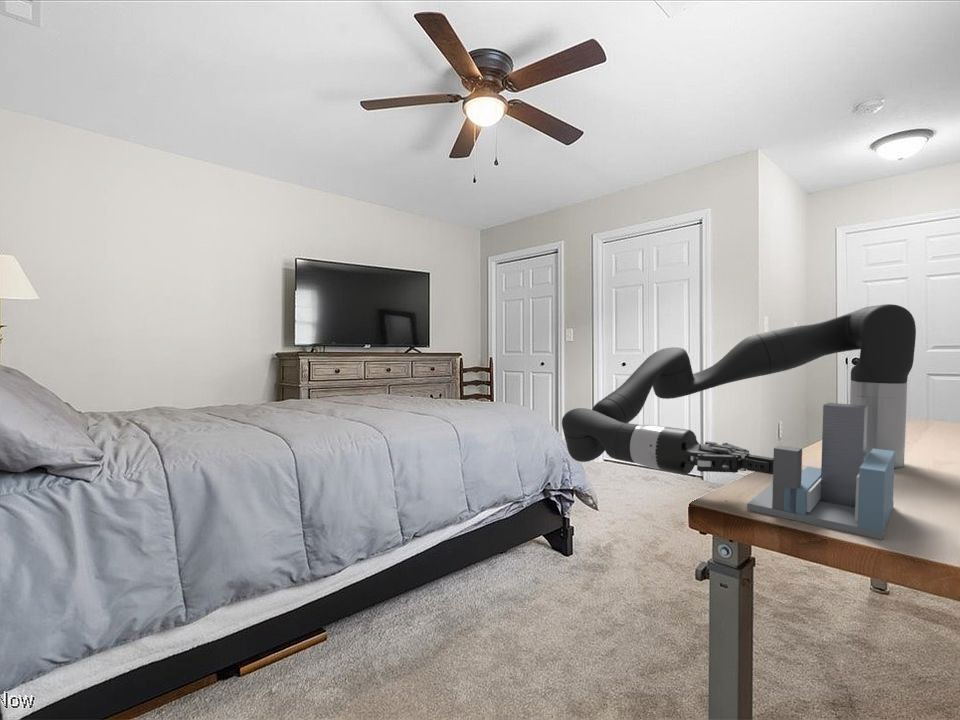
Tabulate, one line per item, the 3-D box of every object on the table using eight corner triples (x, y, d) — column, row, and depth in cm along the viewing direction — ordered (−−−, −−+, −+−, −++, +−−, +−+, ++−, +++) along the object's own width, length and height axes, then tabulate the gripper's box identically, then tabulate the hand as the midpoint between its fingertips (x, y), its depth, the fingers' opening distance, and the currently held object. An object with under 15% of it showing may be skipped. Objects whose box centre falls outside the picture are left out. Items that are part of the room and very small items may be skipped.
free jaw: (796, 484, 83) (798, 433, 83) (828, 490, 80) (830, 436, 80) (772, 508, 72) (773, 448, 71) (808, 515, 69) (810, 453, 68)
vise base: (775, 485, 86) (777, 435, 86) (893, 507, 75) (895, 450, 75) (747, 509, 74) (748, 451, 74) (882, 539, 63) (884, 471, 63)
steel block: (825, 495, 78) (828, 402, 77) (864, 502, 74) (867, 405, 74) (820, 501, 75) (823, 405, 74) (861, 509, 72) (864, 408, 71)
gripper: (646, 431, 80) (764, 449, 68) (678, 422, 89) (787, 435, 77) (645, 476, 80) (762, 501, 68) (678, 462, 90) (786, 482, 77)
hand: (775, 466), depth 73 cm, fingers closed
